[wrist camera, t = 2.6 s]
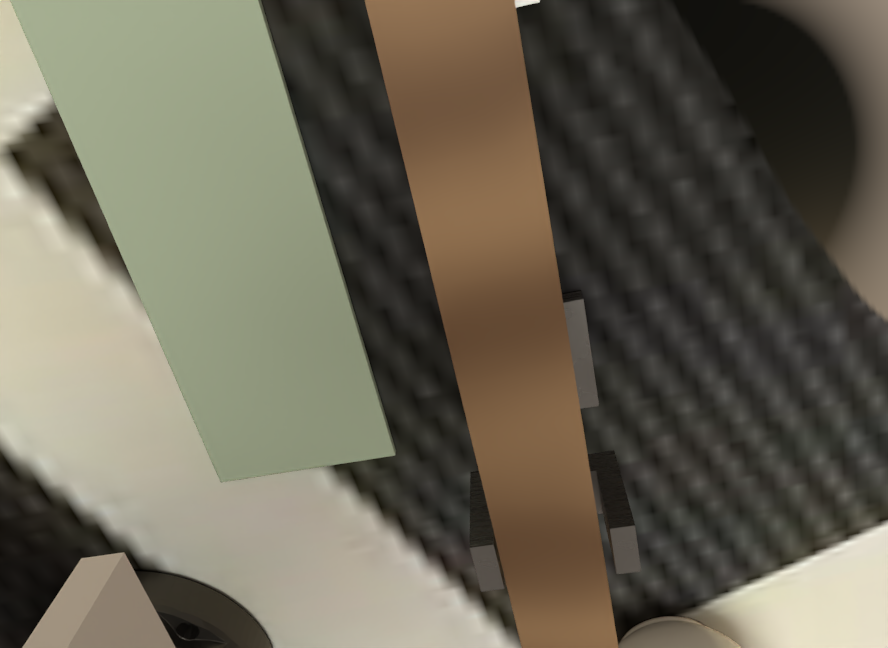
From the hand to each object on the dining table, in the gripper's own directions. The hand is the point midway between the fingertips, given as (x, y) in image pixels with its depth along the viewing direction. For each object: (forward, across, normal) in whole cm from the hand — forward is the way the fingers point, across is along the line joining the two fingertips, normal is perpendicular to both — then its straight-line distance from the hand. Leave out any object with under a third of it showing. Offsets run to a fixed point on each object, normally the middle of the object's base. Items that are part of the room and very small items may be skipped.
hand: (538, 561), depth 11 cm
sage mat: (+24, +13, 0) cm, 27 cm away
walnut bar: (+13, 0, 0) cm, 13 cm away
